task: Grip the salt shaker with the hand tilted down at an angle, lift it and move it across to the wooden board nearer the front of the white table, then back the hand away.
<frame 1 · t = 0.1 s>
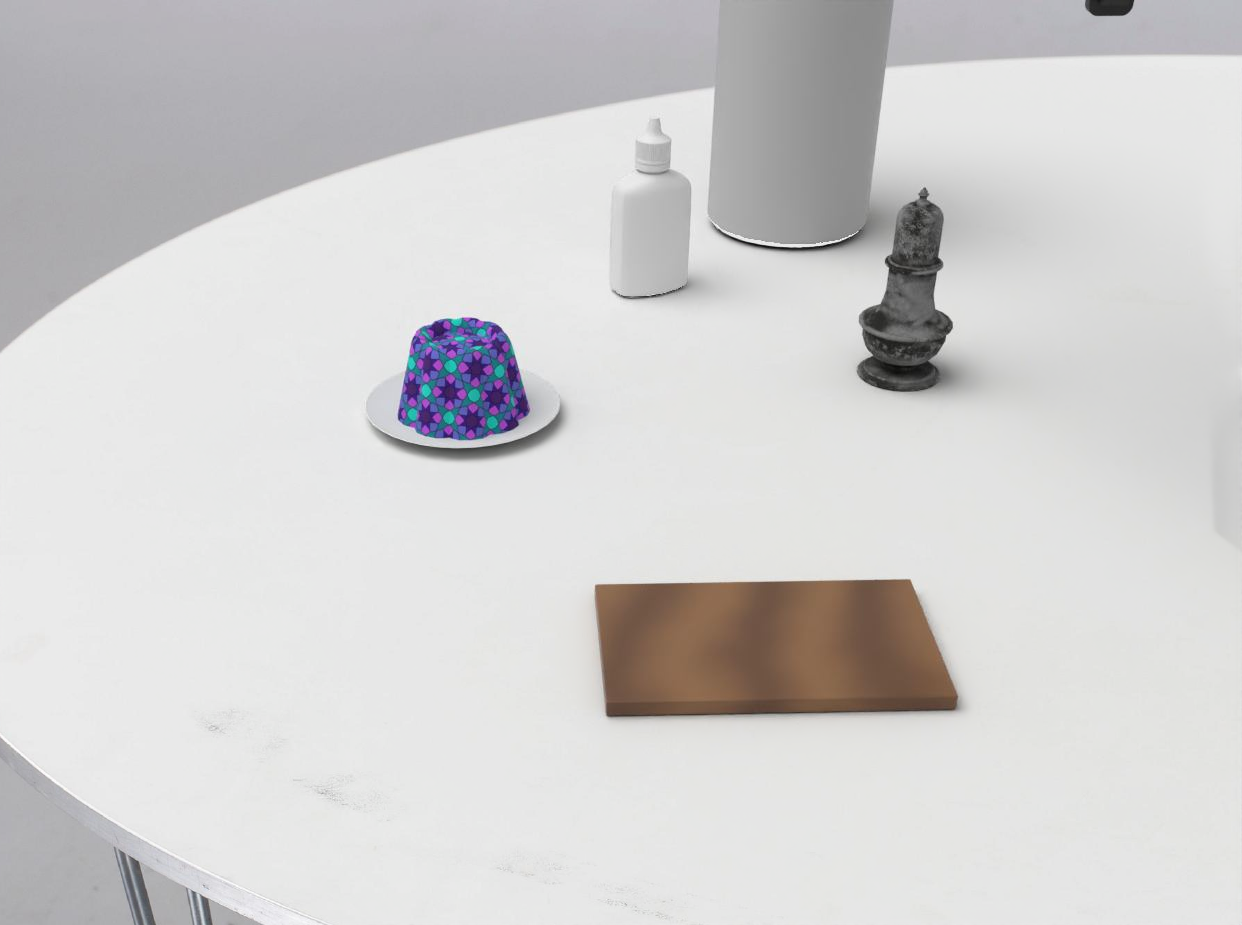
pudding: (463, 416, 95), on the table
salt shaker: (897, 376, 99), on the table
cylinder vase: (785, 226, 122), on the table
eye dropper bottle: (647, 290, 111), on the table
wooden board: (765, 650, 74), on the table
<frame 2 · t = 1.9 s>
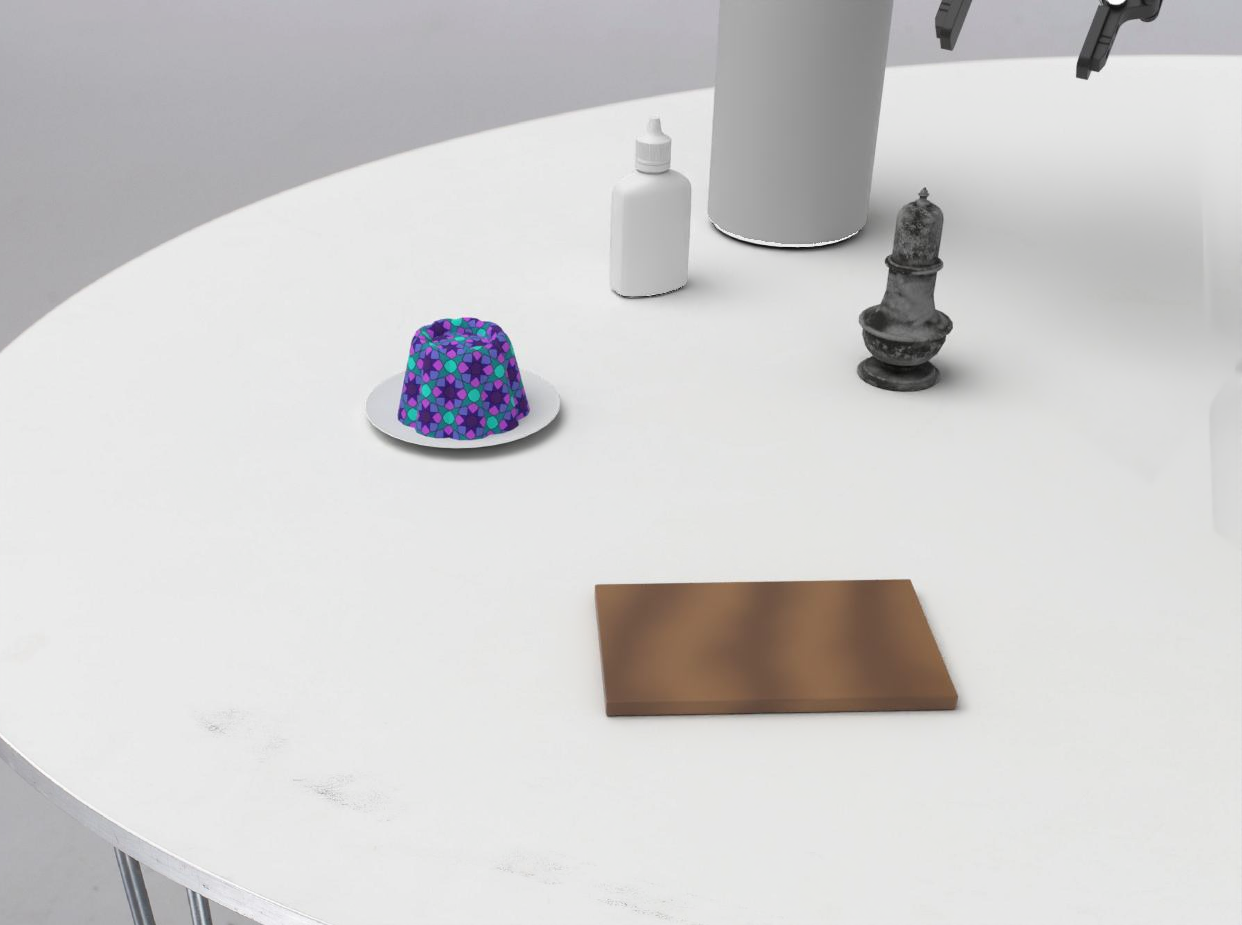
hand: (1012, 58, 94), 18 cm above the table, tool tilted 40°, fingers open, 8 cm apart
nothing on the table moved.
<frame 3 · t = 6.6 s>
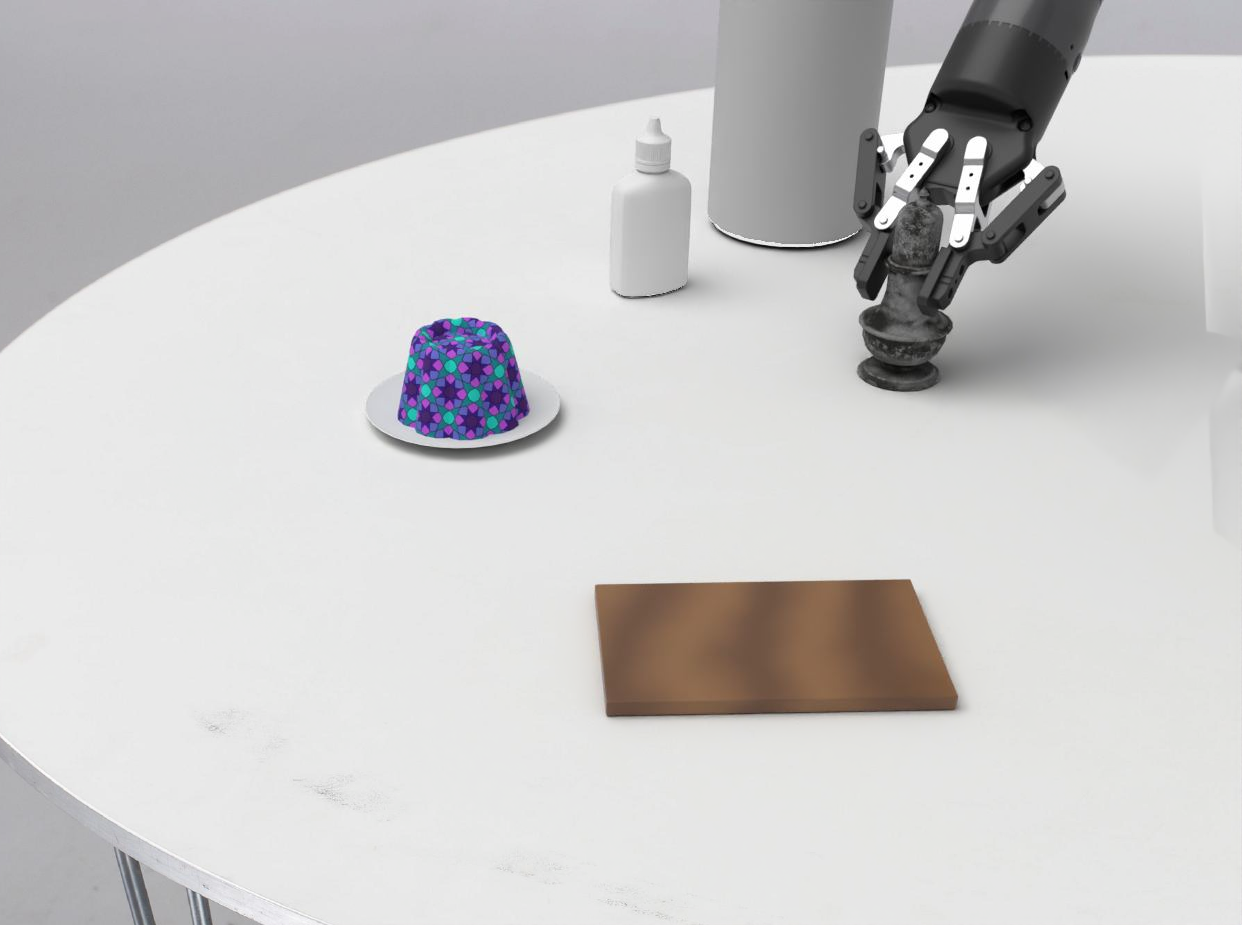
hand: (895, 301, 95), 6 cm above the table, tool tilted 45°, fingers closed on salt shaker, 3 cm apart
salt shaker: (898, 376, 99), on the table, touching gripper
everything else where it was.
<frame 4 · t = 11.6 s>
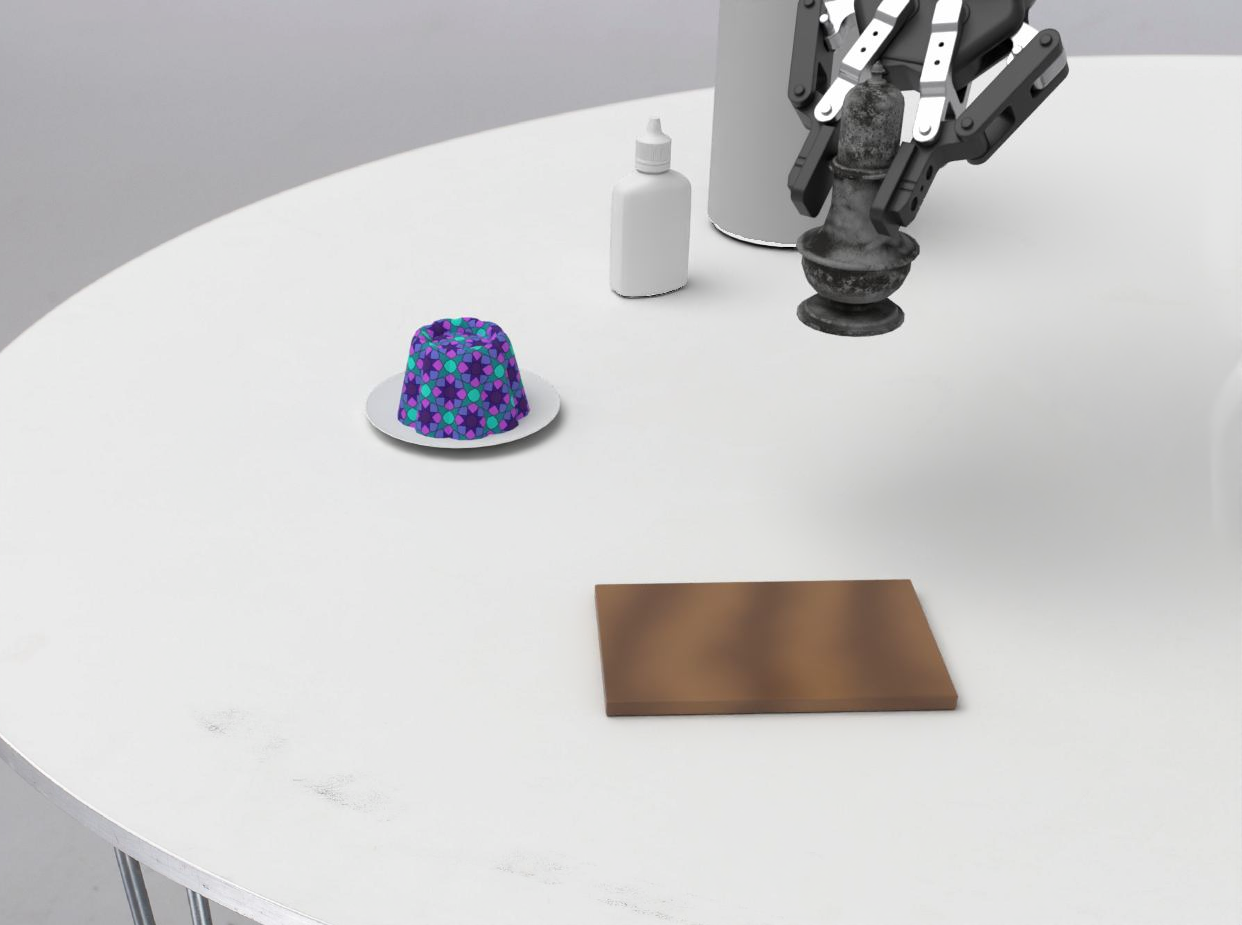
hand: (841, 216, 71), 18 cm above the table, tool tilted 45°, fingers closed on salt shaker, 3 cm apart
salt shaker: (849, 319, 76), point 12 cm above the table, touching gripper
everything else where it was.
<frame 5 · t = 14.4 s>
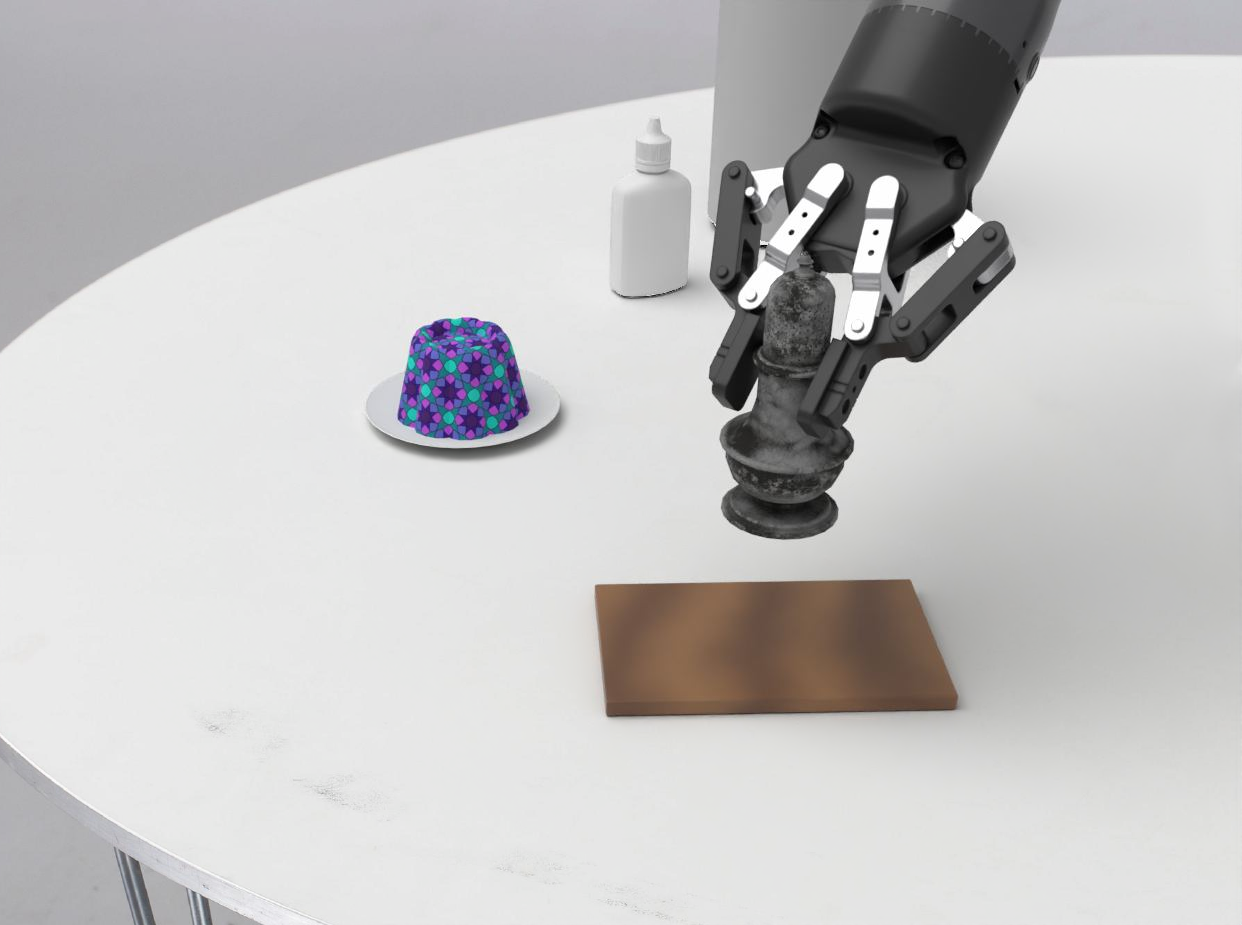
hand: (767, 414, 65), 13 cm above the table, tool tilted 45°, fingers closed on salt shaker, 3 cm apart
salt shaker: (779, 513, 70), point 7 cm above the table, touching gripper
everything else where it was.
when the fingers open (6 cm above the table, at t = 16.6 s): salt shaker stays where it is, resting on wooden board.
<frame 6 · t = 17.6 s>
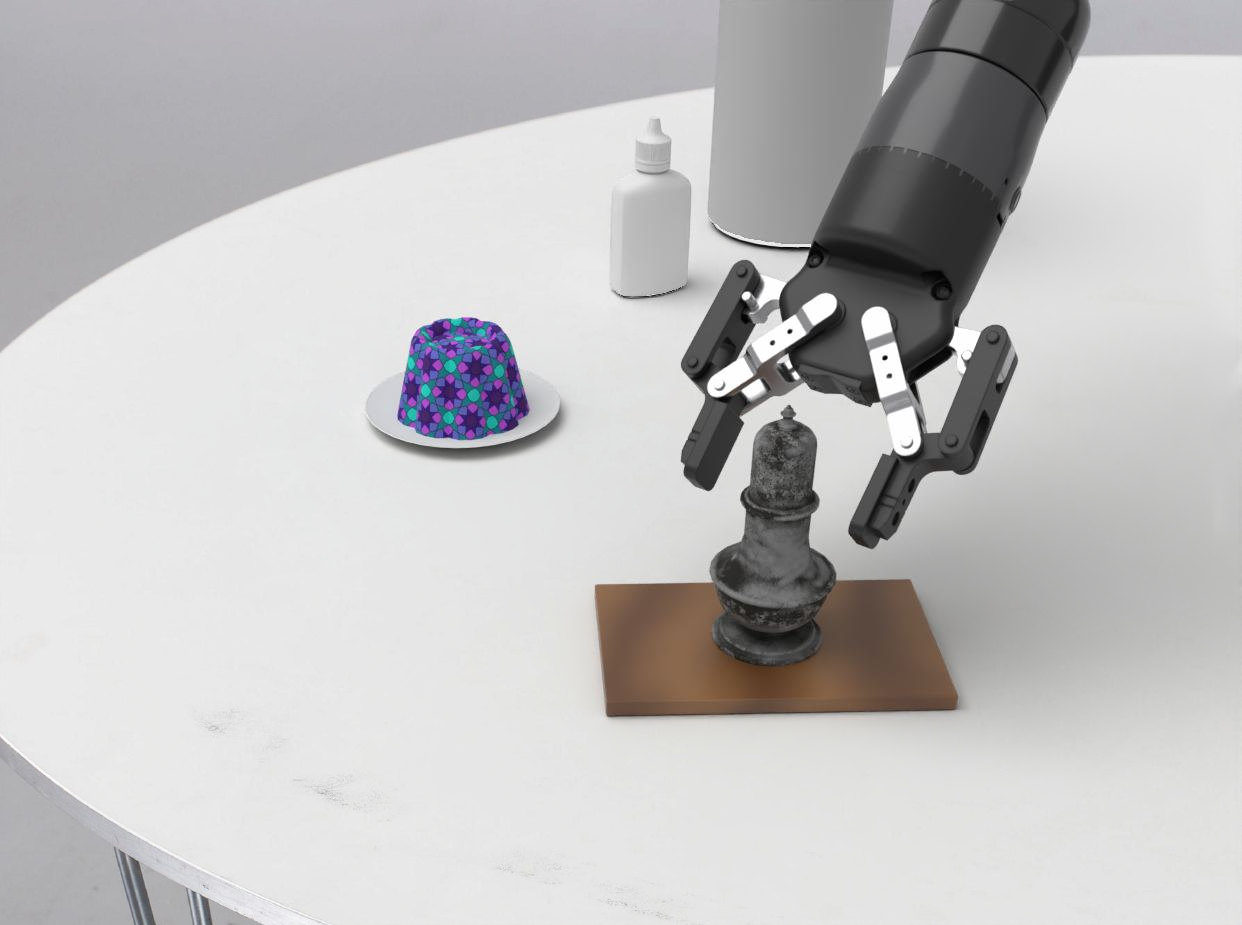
hand: (775, 512, 68), 8 cm above the table, tool tilted 45°, fingers open, 8 cm apart
salt shaker: (766, 638, 74), point 1 cm above the table, touching wooden board
everything else where it was.
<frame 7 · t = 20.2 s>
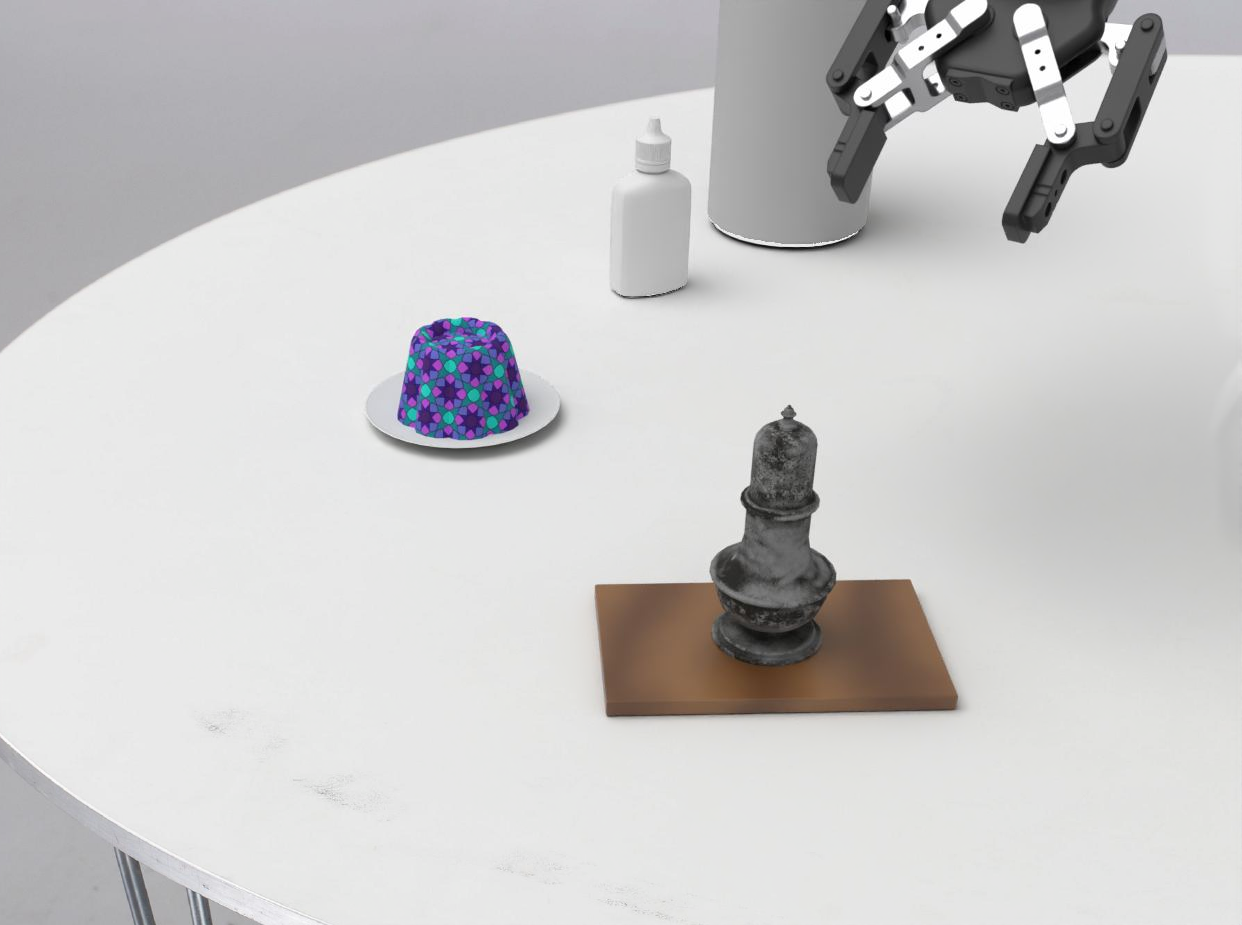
hand: (924, 213, 70), 18 cm above the table, tool tilted 45°, fingers open, 8 cm apart
nothing on the table moved.
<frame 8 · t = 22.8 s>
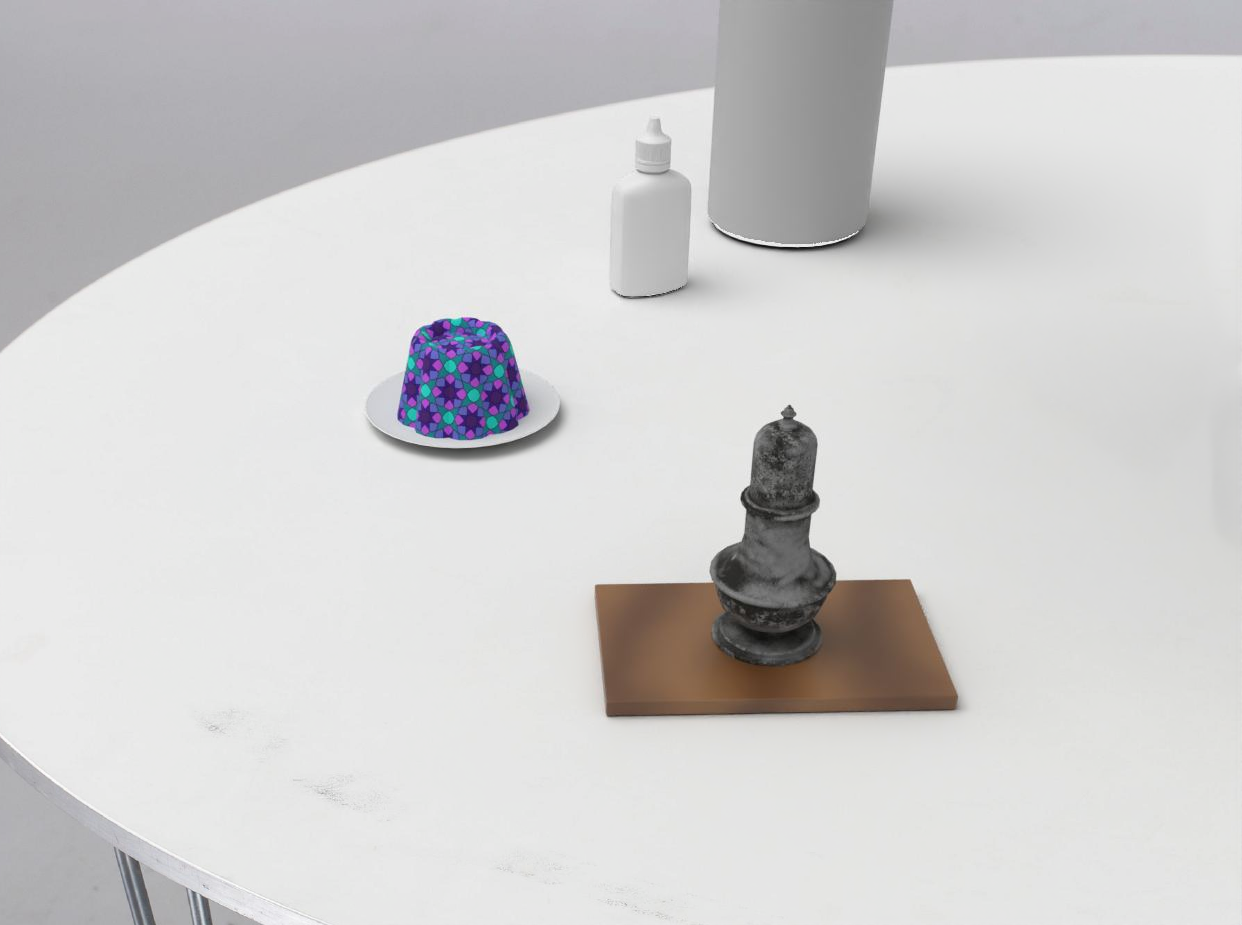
nothing on the table moved.
at the end: salt shaker inside the target area on the wooden board (0.2 cm from its centre), point 0.6 cm above the wooden board's base; salt shaker tilted 0°; salt shaker moved 33.5 cm from its start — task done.
